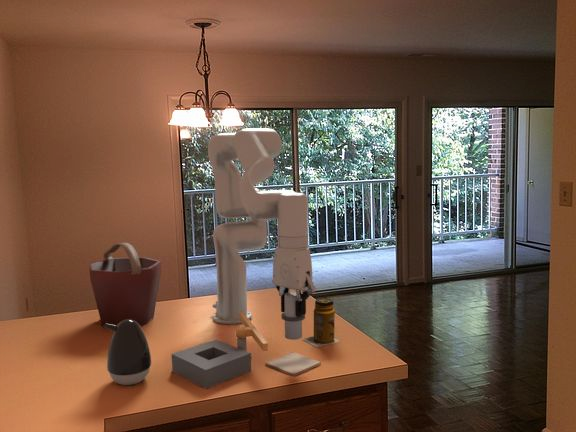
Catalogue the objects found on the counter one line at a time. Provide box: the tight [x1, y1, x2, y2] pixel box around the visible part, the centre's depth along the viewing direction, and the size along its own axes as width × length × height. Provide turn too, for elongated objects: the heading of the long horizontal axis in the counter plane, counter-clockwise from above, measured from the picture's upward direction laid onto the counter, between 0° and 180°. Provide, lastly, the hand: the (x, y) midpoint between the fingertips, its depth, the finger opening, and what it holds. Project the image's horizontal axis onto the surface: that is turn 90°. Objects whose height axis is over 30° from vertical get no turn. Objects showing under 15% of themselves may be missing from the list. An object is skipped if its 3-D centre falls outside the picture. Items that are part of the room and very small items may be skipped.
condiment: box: [302, 297, 341, 348], centre depth 153 cm, size 7×8×12 cm
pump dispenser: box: [104, 319, 152, 386], centre depth 127 cm, size 10×10×15 cm
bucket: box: [88, 242, 162, 328], centre depth 172 cm, size 24×22×25 cm
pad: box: [265, 351, 322, 377], centre depth 137 cm, size 10×10×1 cm
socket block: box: [171, 337, 252, 390], centre depth 134 cm, size 14×20×6 cm
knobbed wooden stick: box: [235, 312, 269, 352], centre depth 140 cm, size 5×26×2 cm, turn 18°
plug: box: [281, 291, 306, 341], centre depth 135 cm, size 6×6×11 cm
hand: (293, 312), depth 135 cm, fingers closed on plug, 4 cm apart
